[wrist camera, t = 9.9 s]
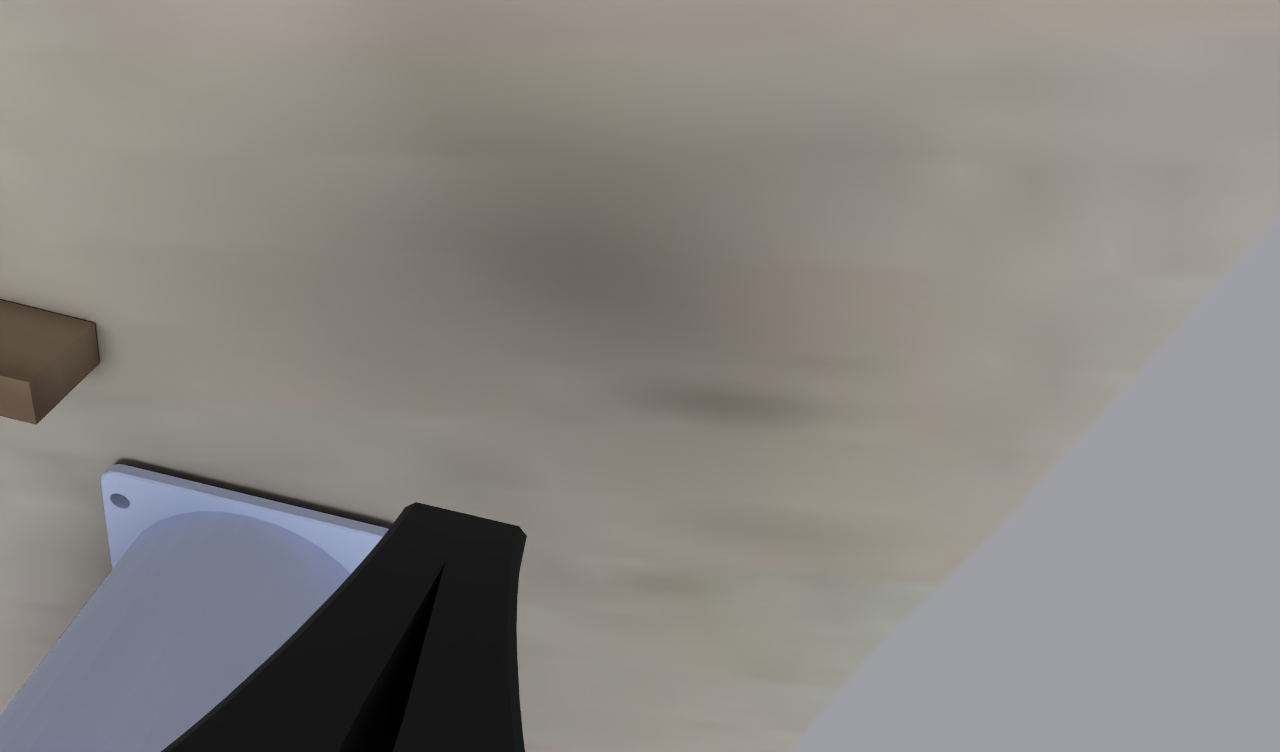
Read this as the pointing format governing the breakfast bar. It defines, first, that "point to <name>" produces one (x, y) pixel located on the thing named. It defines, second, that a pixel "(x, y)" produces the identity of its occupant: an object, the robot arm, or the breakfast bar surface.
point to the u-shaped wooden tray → (41, 359)
